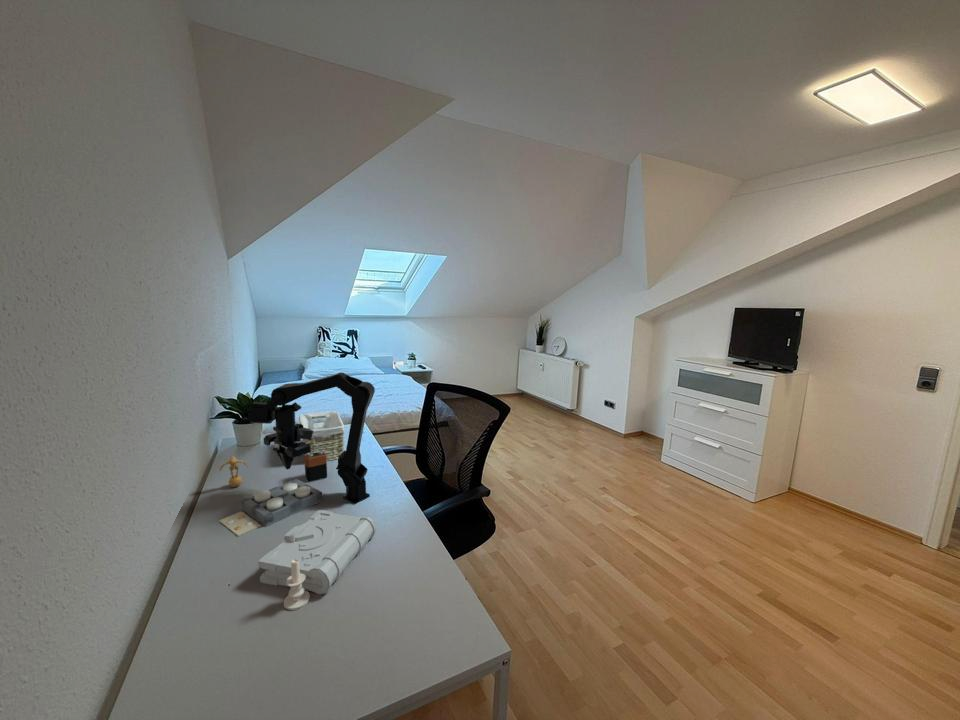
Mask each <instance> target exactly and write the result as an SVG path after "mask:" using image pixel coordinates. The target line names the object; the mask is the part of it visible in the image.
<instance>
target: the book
mask: <svg viewBox="0 0 960 720" xmlns="http://www.w3.org/2000/svg"><path fill="white" fill-rule="evenodd" d="M376 532H377V526H376V524H375V521H374V520H373V519H372V518H370V517H369V516H367V515H366V516H364V515H363V516H354V515H353V516H352V515H347V514H346V515H345V514H340V513H335V512H333V511H329V510H322V509H318V510H317V511H316V512H314V513H313V514H312V515H311V516H310V517H309V520H307V521H306V522H305V523H302V524H300V525H295V526H294V527H292V528H291V529H290V530H288V532H287V533H285V534H284V536H283V537H284V540H283V542H281V543H280V544H279V545H278V546H276V547H275V548H274V549H271V550H270V551H268V552H267V553H266V554H265V555H263V556H262V557H261V558H260V559H259V560H258V568H261V569H263V570H264V572H263V573H262V574H261V575H260V576H259V582H260V583H263V584H266V585H271V586H276V587H277V586H283V587H289V588H291V586H288V585H287V584H286V580H287V579H288V578H289V577H290V576H291V575H292V573H291V561H292V560H295V559H296V560H298V561H299V569H300V573H302V574H304V575H305V577H306V578H305V580H304V581H303V582H302V586H303V587H304V590H305V591H308V592H309V591H310V592H311V593H314V594H317V595H325V594H327V593H329V591H330V589H331V588H332V585H333V584H334V582H336V581H337V580H338V579H340V577H341V576H342V575H343V574H344V572H345V571H346V570H347V568H348V566H349V564H350V563H351V562H353V559H354V558H355V557H356V556H358V555H359V554H360V553H361V552H362V551H363V550H364V548H365V547H366V546H367V544H368V541H369V540H370V539H373V538H374V536H375V534H376Z"/></svg>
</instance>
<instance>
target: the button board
mask: <svg viewBox="0 0 960 720" xmlns="http://www.w3.org/2000/svg"><path fill="white" fill-rule="evenodd" d="M289 483H296V484H297V486H298V488H299V487H303V486H308V487H310V496H307V497H305V498H303V499H298V498H296V497H295V490H296V489H294V490H292V491H289V492H285V491H283V486H284V485H286V484H289ZM268 490H269V491H270V497H271V498H270V499H272V498H277V497H279V498H282V499H283V507H282V508H280V509H278V510H275V511H268V510H267V501H268V500H267V501H265V502H263V503H256V502H255V500H254V495H252V496H250V497H246V498H244V499H242V500H241V508H242V510H243V511H244V512H246V513H247V514H248V515H250V516H251V517H253V518H254V519H255V520H257V521H258V522H260V523H261V524H263V525H264V526H266V527H269V526H270V525H274V524H275V523H277V522H279V521H282V520H284V519H286V518H288V517H290V516H292V515H294V514H296V513H299V512H300V511H303V510H306V509H307V508H310V507H312V506H314V505H316V504H319V503H321V502H322V501H323V499H324V498H323V492H322V491H320V490H319V489H317V488H315V487H313V486H311V485H309V484H307V483H305V482H304V481H302V480H299V479H298V478H297V479H294V480H291V481H289V482H286V483H283V484H280V485H277V486H275V487H273V488H270V489H268Z"/></svg>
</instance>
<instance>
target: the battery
mask: <svg viewBox="0 0 960 720" xmlns="http://www.w3.org/2000/svg"><path fill="white" fill-rule="evenodd" d="M303 456H304V455H303ZM303 458H304V474H305V479H306V481H307V482H308V483H310V482H315V481H318V480H323V479H326V478H327V477H328V461H327V458H326V454H325V453H324V452H323V451H322V450H319V451H317V452H316V453H308V454H307V455H305V456H304V457H303Z"/></svg>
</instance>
